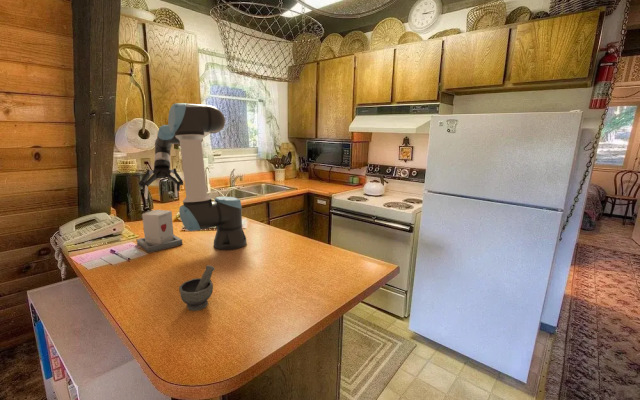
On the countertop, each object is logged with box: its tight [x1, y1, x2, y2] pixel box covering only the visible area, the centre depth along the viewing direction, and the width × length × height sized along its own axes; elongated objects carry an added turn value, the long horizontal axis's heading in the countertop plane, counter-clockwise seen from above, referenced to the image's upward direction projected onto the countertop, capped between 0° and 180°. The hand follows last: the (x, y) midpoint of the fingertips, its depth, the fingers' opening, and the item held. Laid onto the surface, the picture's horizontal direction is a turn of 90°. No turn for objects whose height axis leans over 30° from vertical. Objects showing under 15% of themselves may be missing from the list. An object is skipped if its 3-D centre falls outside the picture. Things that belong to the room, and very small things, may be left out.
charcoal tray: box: [136, 234, 183, 254], centre depth 143 cm, size 15×15×2 cm
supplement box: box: [141, 209, 175, 245], centre depth 141 cm, size 9×9×15 cm
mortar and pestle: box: [178, 264, 216, 312], centre depth 94 cm, size 11×9×12 cm
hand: (161, 197), depth 149 cm, fingers open, 13 cm apart
